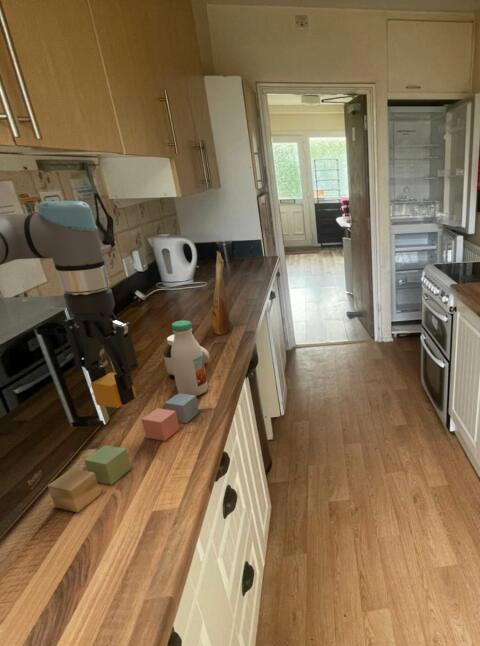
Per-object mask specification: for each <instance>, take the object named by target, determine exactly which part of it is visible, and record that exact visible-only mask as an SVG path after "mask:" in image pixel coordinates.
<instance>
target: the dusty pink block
mask: <svg viewBox="0 0 480 646" xmlns="http://www.w3.org/2000/svg"><path fill="white" fill-rule="evenodd" d="M141 423H142V427H143V431H144V435H145V438H147V439H151V440H158V441H162V442H166V441H167V440H168V439H169V438H170V437H172V436H173V435H174V434H175V433H177V432H178V431H179V430H180V425H179V422H178V420H177V415H176V411H173V410H166V408H160V407H157V408H155V409H154V410H152V411H151V412H150V413H148V414H147V415H145V416H144V417H142V418H141Z"/></svg>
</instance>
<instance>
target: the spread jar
mask: <svg viewBox="0 0 480 646" xmlns="http://www.w3.org/2000/svg"><path fill="white" fill-rule="evenodd" d="M166 341H167V345H166V346H165V348H164V350H163V358H164V364H165V368H166V371H167V373H168V374H169V375H170V376H172V377H173V378H175V376H174V370H173V365H172V359H171V348H172V345H173V341H174V334H171V335H169V336H167V338H166ZM200 347H201V350H202V355H203V360H204V364H207V362H208V361H209V359H210V356H211V355H210V352H209V350H207V349H206V348H205V347H203V346H201V345H200Z"/></svg>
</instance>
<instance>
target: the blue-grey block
mask: <svg viewBox="0 0 480 646" xmlns="http://www.w3.org/2000/svg"><path fill="white" fill-rule="evenodd" d="M164 406H165V409H166V410H173V411H176V415H177V420H178V423H181V424H188V423H189V422H190V421H192V419H193V418H195V417H196V416H197V415H198V414H200V411H199V405H198V399H197V396H195V395H188V394H182V393H178V392H177V394H175V395H174V396H172V397H170V398H169V399H168V400H166V401H165V402H164Z"/></svg>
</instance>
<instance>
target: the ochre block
mask: <svg viewBox="0 0 480 646" xmlns="http://www.w3.org/2000/svg"><path fill="white" fill-rule="evenodd" d="M115 374H117V372H109V373H106V375H105V376H103V377H101V378H99V379H98V380H96V381H94V382H90V386H91V389H92V393H93V396H94V400H95V403H96V406H102V407H108V408H114V409H118V408H120V407H122V406H123V404H122V403H121V400H120V396H119V392H118V388H117V384H116V381H115V377H114V375H115ZM133 381H134V380H132V382H133ZM133 383H134V382H133ZM132 389H133V393H134V397H135V398H136V397H137V393H136V389H135V387H134V384H133V386H132Z"/></svg>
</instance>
